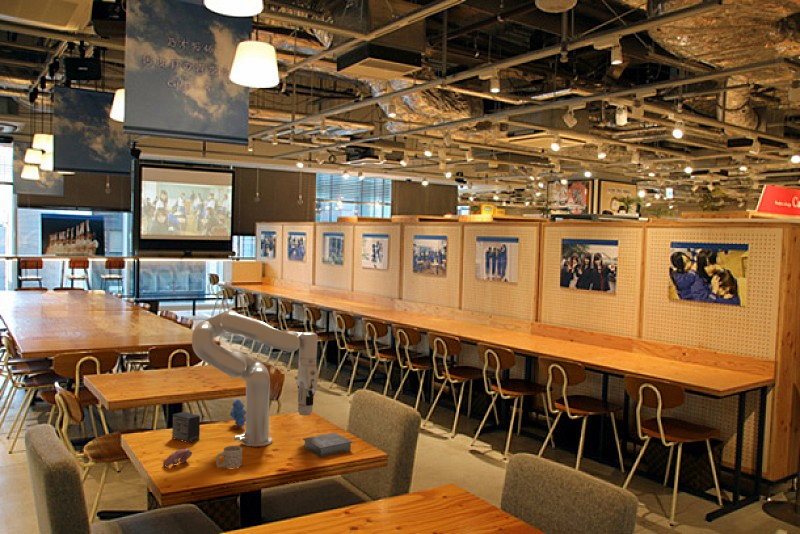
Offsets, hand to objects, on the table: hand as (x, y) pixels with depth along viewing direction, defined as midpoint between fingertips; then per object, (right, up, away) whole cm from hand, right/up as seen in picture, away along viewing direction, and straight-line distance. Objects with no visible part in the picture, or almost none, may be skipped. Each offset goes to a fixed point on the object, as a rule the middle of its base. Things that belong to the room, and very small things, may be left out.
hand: (305, 403), depth 272 cm
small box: (-50, -15, -2) cm, 52 cm away
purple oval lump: (-43, -16, -32) cm, 56 cm away
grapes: (-34, -14, +18) cm, 41 cm away
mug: (-24, -17, -34) cm, 45 cm away
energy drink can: (0, -5, 0) cm, 5 cm away
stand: (+11, -17, -11) cm, 23 cm away
